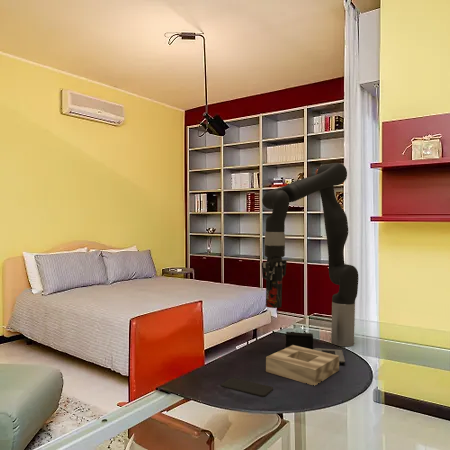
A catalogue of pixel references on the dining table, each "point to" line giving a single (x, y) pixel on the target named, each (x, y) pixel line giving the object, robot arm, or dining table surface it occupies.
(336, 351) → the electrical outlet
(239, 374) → the dining table surface
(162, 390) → the dining table surface
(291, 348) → the holder
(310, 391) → the dining table surface
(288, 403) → the dining table surface
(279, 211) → the robot arm
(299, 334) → the digital camera
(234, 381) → the phone
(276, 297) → the deodorant
